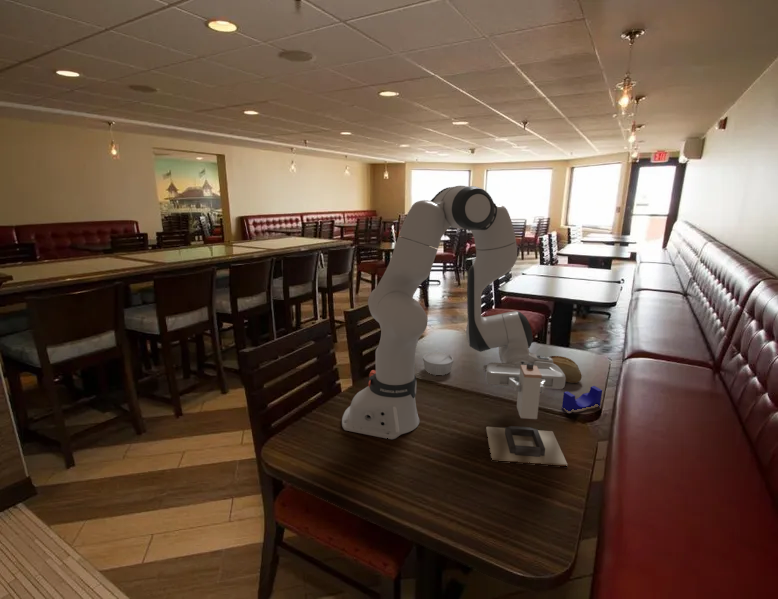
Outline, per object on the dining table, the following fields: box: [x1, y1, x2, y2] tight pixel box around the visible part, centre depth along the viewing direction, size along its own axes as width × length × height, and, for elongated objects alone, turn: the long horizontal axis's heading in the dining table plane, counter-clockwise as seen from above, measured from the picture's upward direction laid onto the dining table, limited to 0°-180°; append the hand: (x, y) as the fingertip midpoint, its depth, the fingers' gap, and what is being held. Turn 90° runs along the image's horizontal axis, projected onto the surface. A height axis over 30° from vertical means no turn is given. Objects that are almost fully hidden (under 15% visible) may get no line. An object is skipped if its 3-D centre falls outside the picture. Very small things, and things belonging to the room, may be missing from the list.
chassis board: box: [485, 425, 569, 467], centre depth 106 cm, size 18×14×3 cm
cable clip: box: [561, 385, 603, 411], centre depth 125 cm, size 12×4×6 cm, turn 109°
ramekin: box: [422, 351, 454, 376], centre depth 150 cm, size 11×11×5 cm
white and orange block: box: [516, 363, 542, 420], centre depth 102 cm, size 4×6×13 cm
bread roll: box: [548, 355, 582, 384], centre depth 144 cm, size 10×15×8 cm, turn 71°
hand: (529, 389), depth 101 cm, fingers closed on white and orange block, 4 cm apart
